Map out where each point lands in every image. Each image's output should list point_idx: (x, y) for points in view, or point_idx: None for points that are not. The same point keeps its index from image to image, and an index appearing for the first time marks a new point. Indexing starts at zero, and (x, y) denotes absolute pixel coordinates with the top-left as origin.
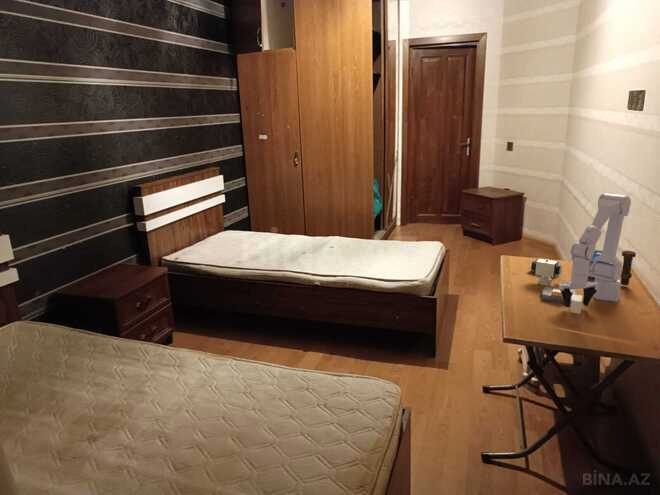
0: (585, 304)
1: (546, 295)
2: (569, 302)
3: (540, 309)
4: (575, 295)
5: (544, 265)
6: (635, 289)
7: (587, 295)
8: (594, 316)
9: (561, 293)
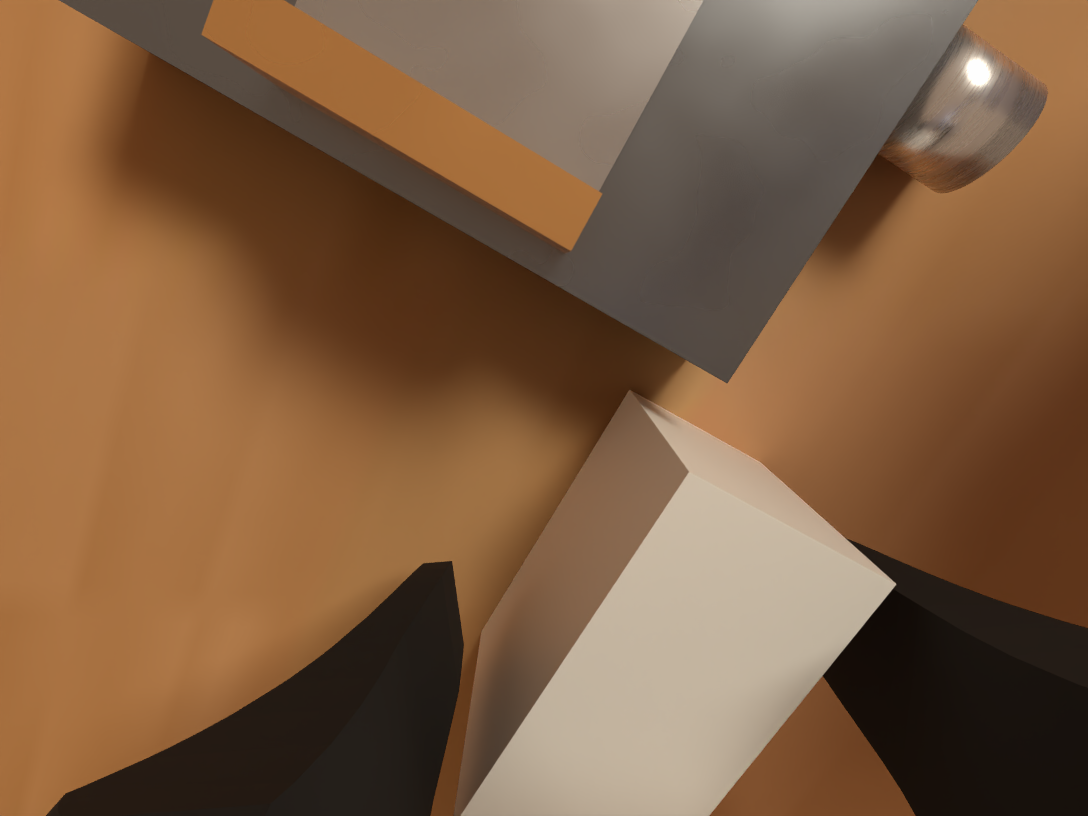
0: None
1: (155, 51)
2: (434, 754)
3: (37, 511)
4: (717, 557)
5: None
6: None
7: (952, 804)
8: (748, 776)
9: (480, 199)
